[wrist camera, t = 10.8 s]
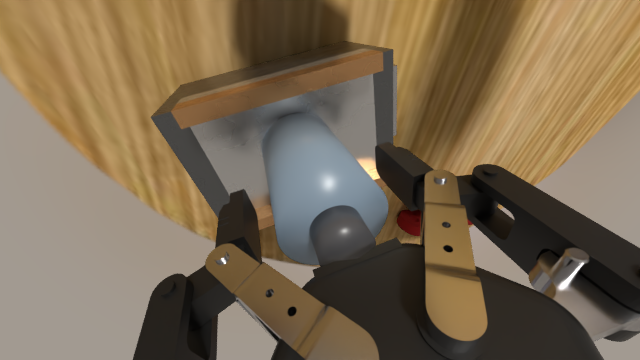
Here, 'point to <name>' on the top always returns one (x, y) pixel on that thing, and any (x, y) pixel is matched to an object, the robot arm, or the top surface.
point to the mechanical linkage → (412, 221)
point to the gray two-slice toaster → (279, 116)
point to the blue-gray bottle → (319, 193)
